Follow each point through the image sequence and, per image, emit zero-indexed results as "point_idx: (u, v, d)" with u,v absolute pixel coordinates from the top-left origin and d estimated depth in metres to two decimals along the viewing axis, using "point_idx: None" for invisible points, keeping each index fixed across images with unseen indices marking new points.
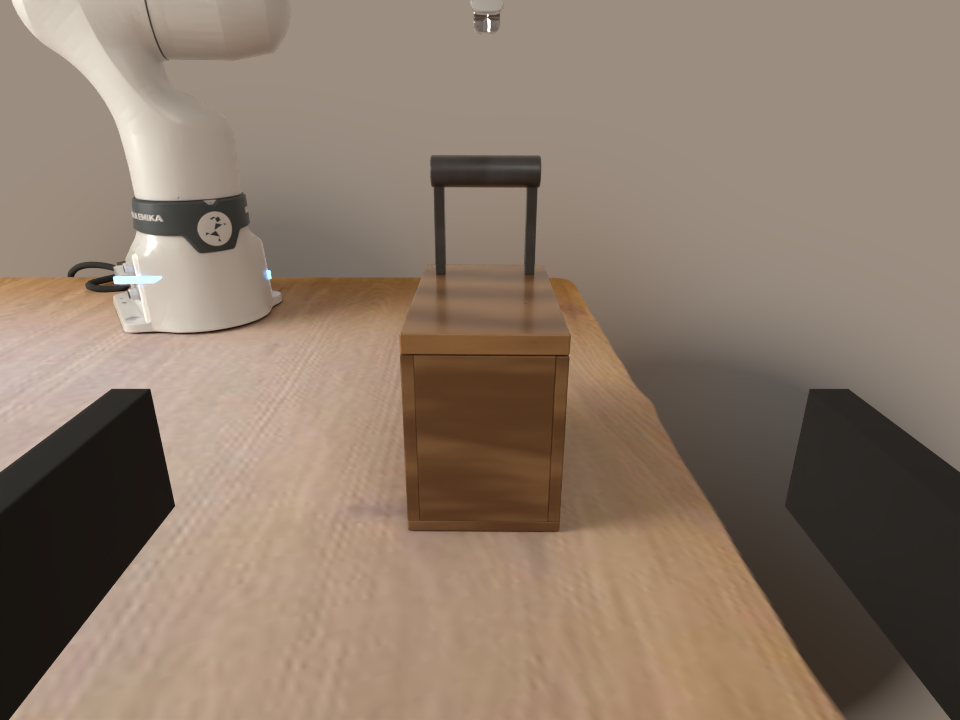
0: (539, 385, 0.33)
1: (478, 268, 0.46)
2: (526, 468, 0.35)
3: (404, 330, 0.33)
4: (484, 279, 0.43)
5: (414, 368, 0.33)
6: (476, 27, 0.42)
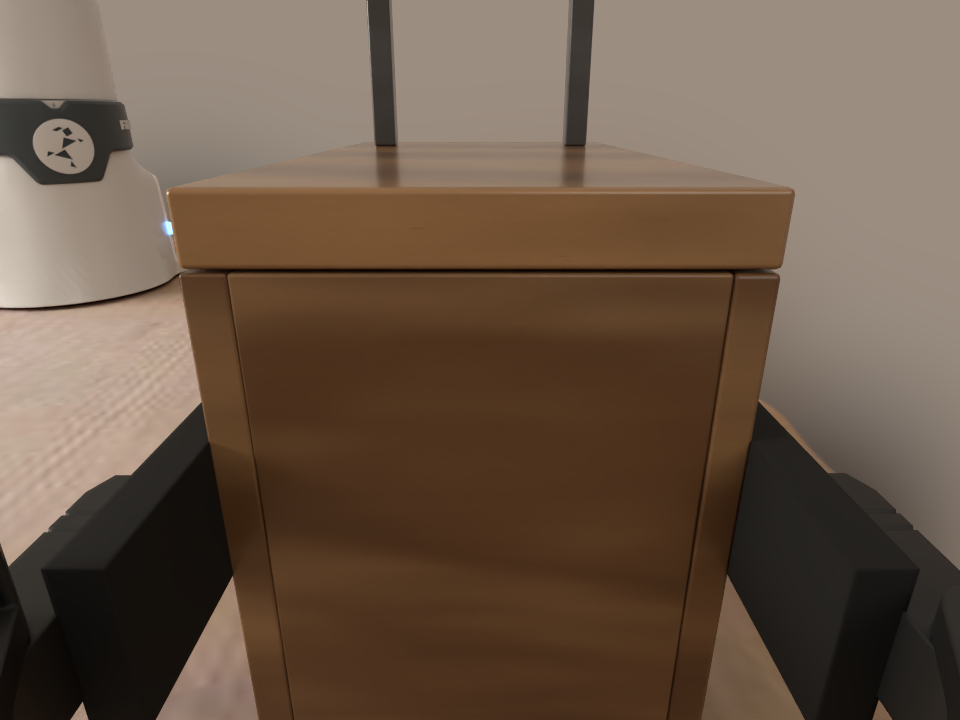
0: (667, 378, 0.10)
1: (466, 143, 0.22)
2: (609, 630, 0.12)
3: (193, 183, 0.09)
4: (479, 147, 0.19)
5: (234, 320, 0.09)
6: None
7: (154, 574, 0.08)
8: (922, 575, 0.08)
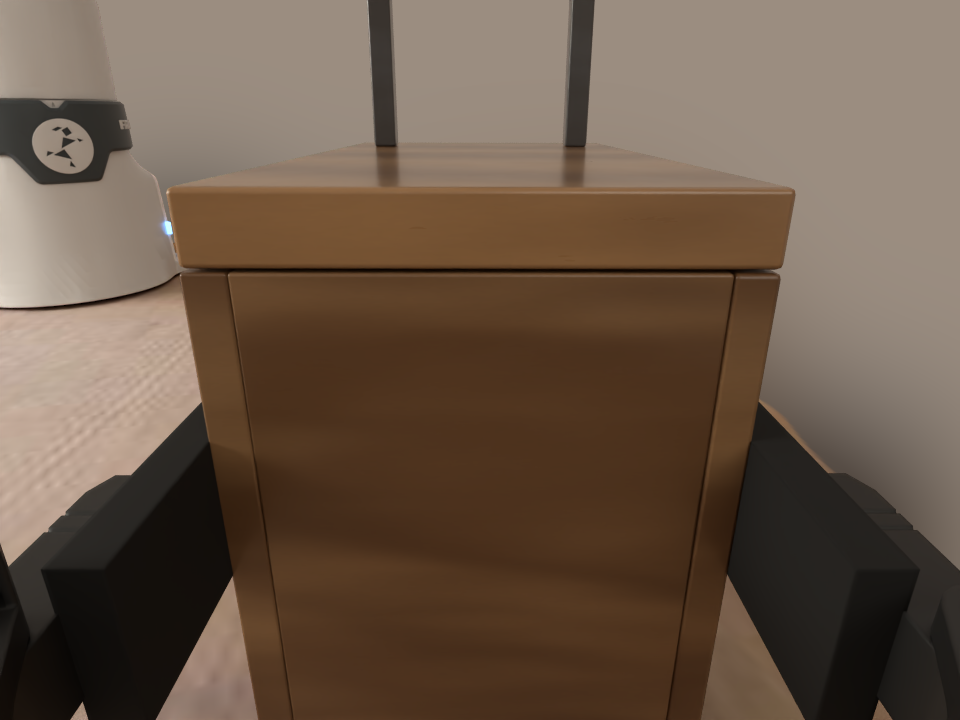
0: (668, 378, 0.10)
1: (467, 144, 0.22)
2: (608, 630, 0.12)
3: (193, 183, 0.09)
4: (479, 148, 0.19)
5: (235, 320, 0.09)
6: None
7: (155, 574, 0.09)
8: (922, 575, 0.08)
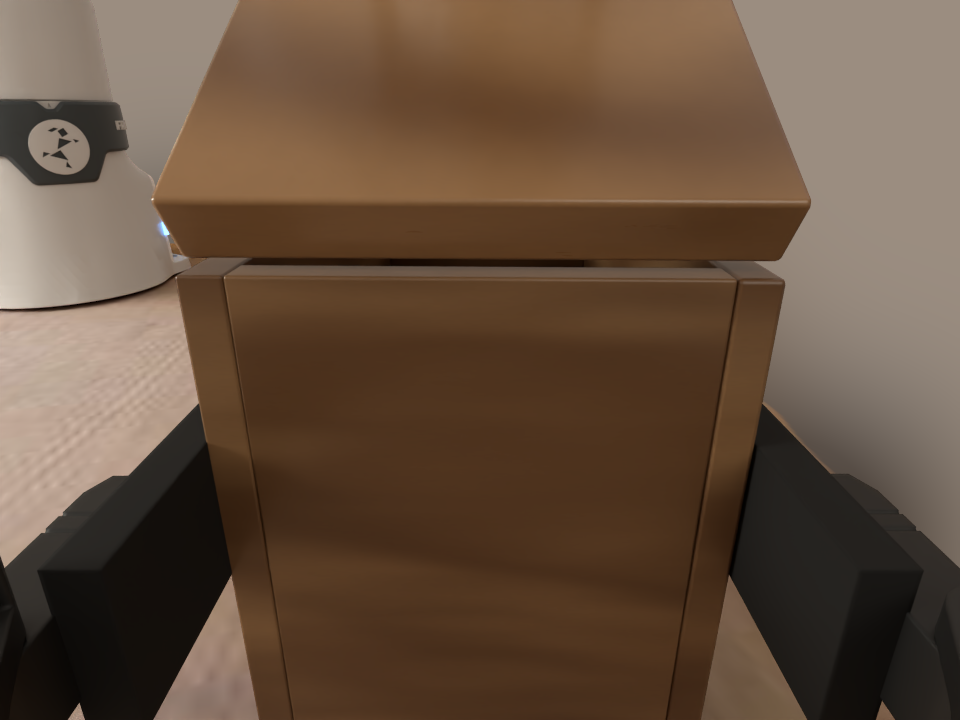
0: (669, 384, 0.10)
1: None
2: (607, 634, 0.12)
3: (173, 175, 0.09)
4: None
5: (231, 322, 0.09)
6: None
7: (151, 575, 0.08)
8: (925, 576, 0.08)
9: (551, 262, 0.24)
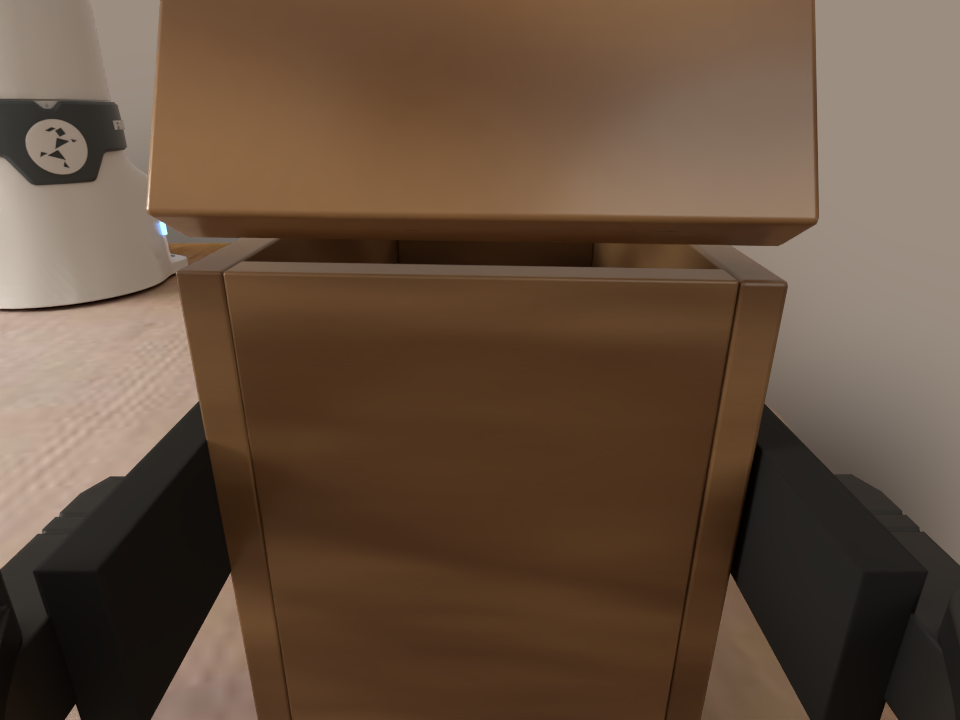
0: (668, 385, 0.10)
1: None
2: (605, 637, 0.12)
3: (161, 178, 0.08)
4: None
5: (230, 318, 0.09)
6: None
7: (148, 576, 0.08)
8: (929, 577, 0.08)
9: (559, 262, 0.24)
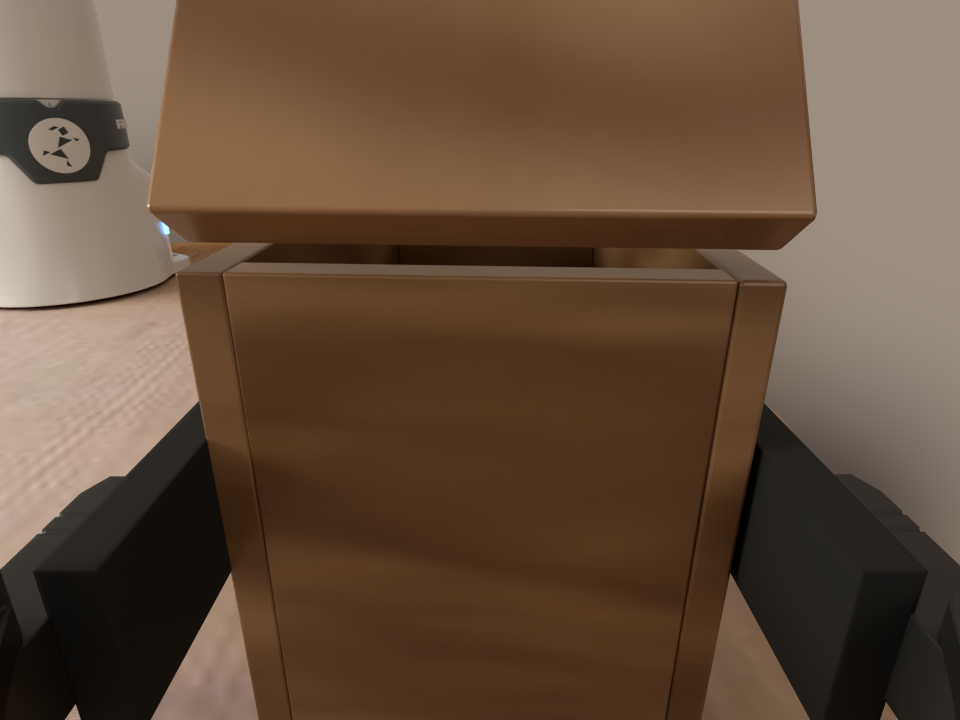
0: (668, 385, 0.10)
1: None
2: (605, 637, 0.12)
3: (163, 176, 0.08)
4: None
5: (230, 319, 0.09)
6: None
7: (148, 576, 0.08)
8: (929, 577, 0.08)
9: (560, 262, 0.24)
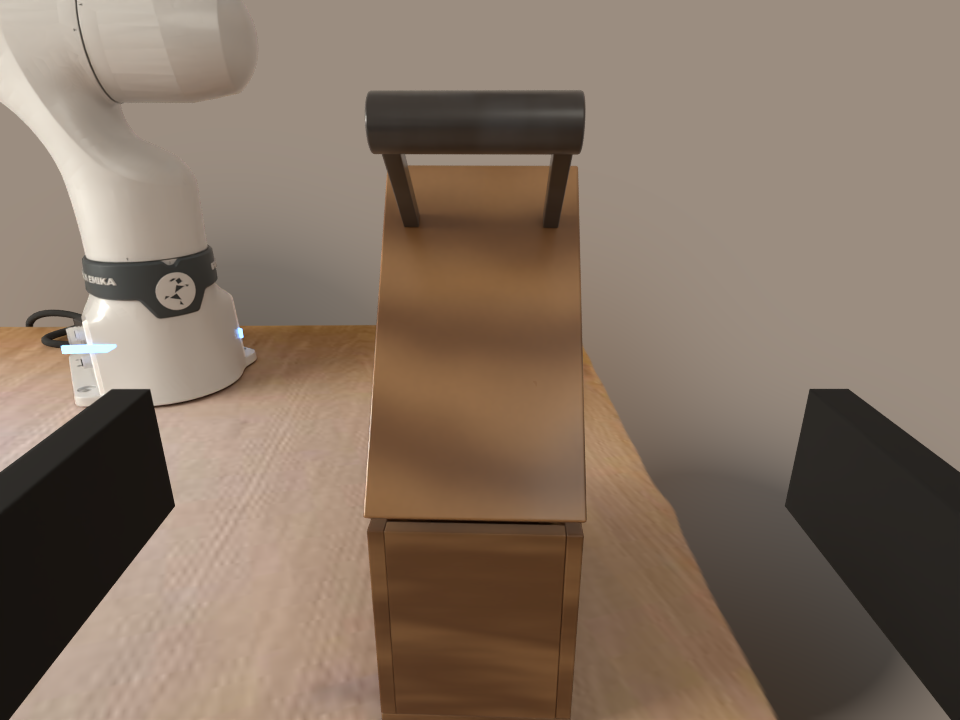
0: (545, 567, 0.26)
1: (471, 190, 0.29)
2: (528, 660, 0.28)
3: (369, 505, 0.25)
4: (479, 256, 0.28)
5: (385, 545, 0.26)
6: None
7: None
8: None
9: None
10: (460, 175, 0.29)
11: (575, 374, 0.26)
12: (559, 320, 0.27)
